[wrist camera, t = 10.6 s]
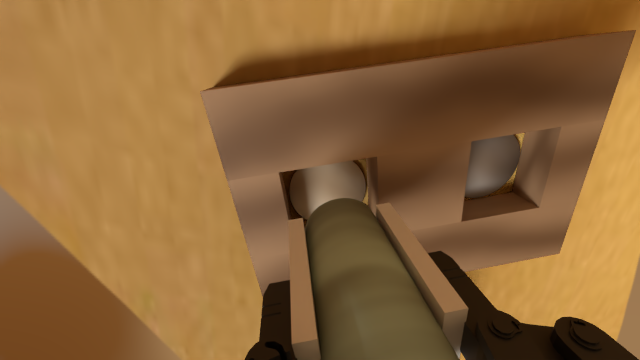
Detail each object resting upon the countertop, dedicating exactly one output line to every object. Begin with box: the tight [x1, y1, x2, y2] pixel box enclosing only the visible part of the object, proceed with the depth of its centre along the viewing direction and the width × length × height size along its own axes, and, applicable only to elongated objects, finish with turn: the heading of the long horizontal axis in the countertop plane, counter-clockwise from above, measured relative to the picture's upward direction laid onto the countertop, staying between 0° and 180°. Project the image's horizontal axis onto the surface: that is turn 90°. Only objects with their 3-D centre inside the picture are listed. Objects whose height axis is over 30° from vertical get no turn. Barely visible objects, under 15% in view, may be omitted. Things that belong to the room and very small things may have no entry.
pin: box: [305, 198, 460, 360], centre depth 10 cm, size 4×4×10 cm
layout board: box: [200, 30, 636, 296], centre depth 18 cm, size 16×24×2 cm, turn 97°
